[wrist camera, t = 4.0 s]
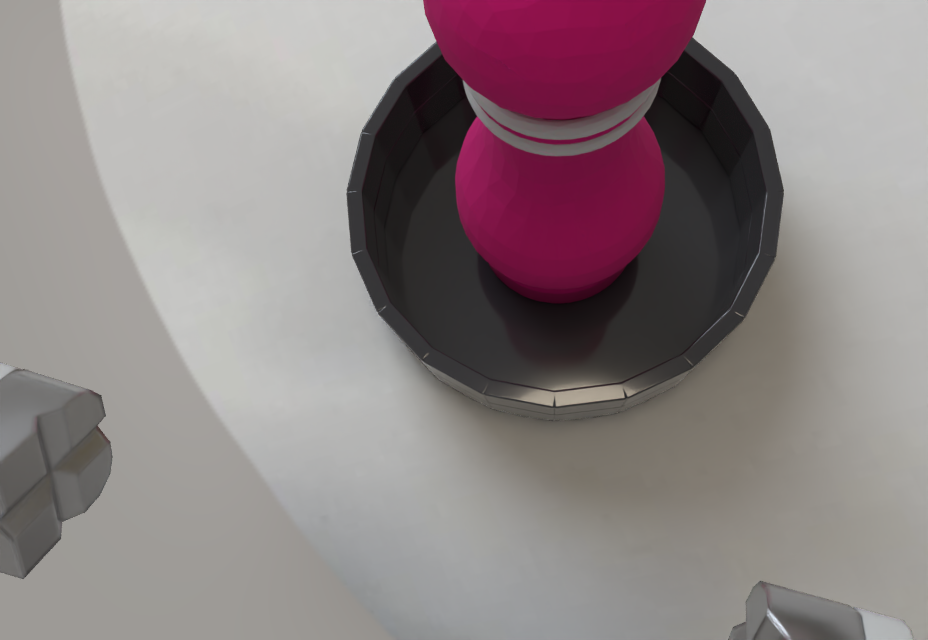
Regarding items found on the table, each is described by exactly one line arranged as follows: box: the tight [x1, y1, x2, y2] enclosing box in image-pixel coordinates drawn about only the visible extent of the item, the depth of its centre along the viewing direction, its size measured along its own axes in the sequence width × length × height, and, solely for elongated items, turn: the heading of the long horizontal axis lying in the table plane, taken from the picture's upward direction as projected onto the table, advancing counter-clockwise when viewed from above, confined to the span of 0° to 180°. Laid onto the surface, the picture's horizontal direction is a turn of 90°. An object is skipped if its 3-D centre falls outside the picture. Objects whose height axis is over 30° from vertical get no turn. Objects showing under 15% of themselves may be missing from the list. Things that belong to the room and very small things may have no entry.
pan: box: [347, 38, 784, 421], centre depth 31 cm, size 15×15×4 cm
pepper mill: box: [423, 0, 706, 303], centre depth 23 cm, size 7×7×20 cm
